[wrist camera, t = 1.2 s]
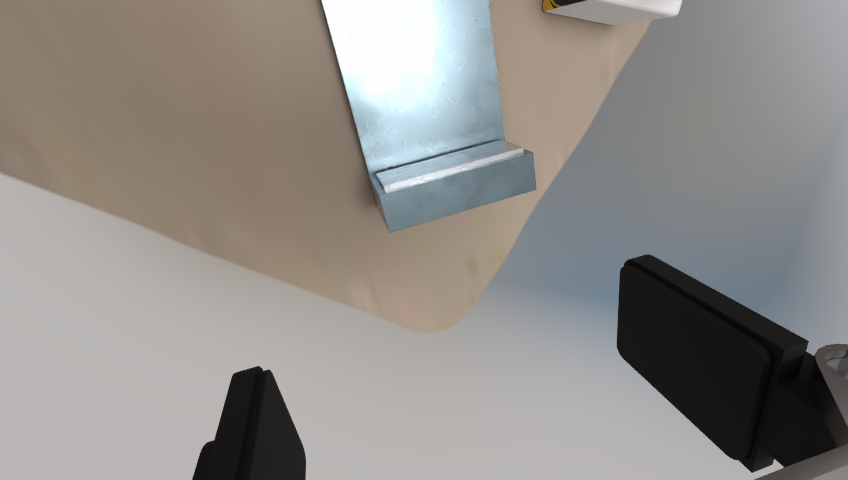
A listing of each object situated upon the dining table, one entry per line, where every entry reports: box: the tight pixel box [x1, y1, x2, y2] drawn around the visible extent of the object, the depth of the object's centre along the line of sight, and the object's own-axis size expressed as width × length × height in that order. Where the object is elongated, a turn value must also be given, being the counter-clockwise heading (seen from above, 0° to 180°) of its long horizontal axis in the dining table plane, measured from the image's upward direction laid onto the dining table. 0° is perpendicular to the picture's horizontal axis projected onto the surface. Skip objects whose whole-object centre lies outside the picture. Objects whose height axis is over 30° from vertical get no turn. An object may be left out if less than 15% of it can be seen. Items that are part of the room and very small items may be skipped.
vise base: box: [321, 0, 536, 233], centre depth 28 cm, size 25×12×6 cm, turn 12°
